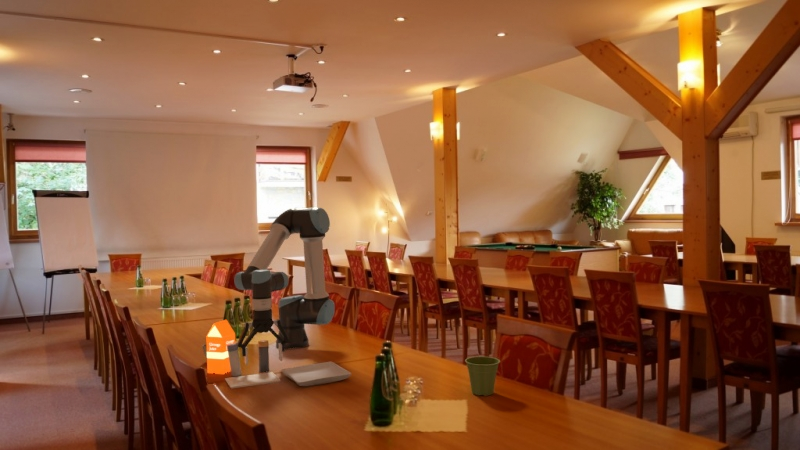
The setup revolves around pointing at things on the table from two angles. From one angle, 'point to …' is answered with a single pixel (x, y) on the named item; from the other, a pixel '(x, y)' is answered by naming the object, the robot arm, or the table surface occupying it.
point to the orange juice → (219, 347)
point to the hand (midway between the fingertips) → (263, 362)
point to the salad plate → (316, 373)
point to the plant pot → (482, 374)
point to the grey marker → (234, 359)
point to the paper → (252, 380)
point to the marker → (263, 356)
